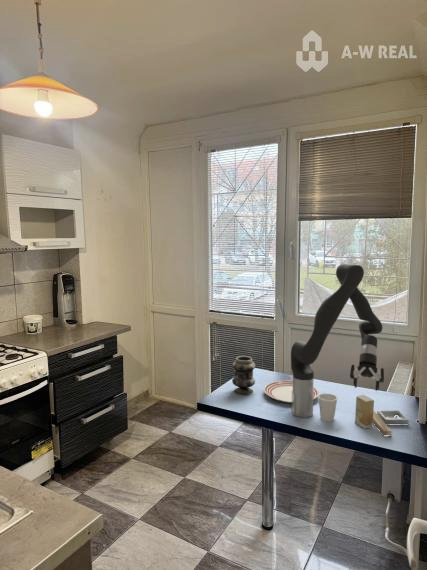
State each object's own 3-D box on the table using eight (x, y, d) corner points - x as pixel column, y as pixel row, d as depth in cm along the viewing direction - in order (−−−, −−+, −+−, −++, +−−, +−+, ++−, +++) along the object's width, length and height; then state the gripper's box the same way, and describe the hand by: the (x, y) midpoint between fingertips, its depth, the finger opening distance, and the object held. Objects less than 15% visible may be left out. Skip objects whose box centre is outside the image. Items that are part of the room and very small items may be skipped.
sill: (383, 436, 157) (383, 430, 157) (366, 415, 177) (366, 409, 177) (391, 436, 157) (391, 431, 157) (373, 415, 177) (373, 409, 177)
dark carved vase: (259, 393, 204) (259, 359, 202) (239, 397, 198) (239, 362, 196) (247, 385, 215) (247, 353, 213) (228, 389, 209) (228, 356, 207)
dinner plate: (324, 407, 187) (325, 400, 186) (267, 407, 187) (267, 400, 187) (311, 386, 214) (311, 380, 213) (261, 386, 214) (261, 380, 214)
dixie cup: (320, 422, 170) (321, 400, 169) (315, 414, 178) (315, 393, 177) (339, 422, 170) (340, 400, 169) (333, 414, 178) (334, 393, 177)
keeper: (385, 425, 167) (385, 419, 167) (377, 415, 177) (377, 410, 177) (408, 425, 167) (408, 420, 167) (398, 415, 177) (399, 410, 176)
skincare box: (354, 422, 170) (355, 395, 168) (362, 421, 171) (363, 394, 170) (365, 429, 164) (366, 401, 163) (373, 427, 165) (374, 399, 164)
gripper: (351, 350, 183) (348, 382, 174) (385, 354, 177) (383, 387, 168) (352, 358, 188) (349, 389, 179) (384, 362, 182) (383, 394, 173)
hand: (366, 388), depth 173 cm, fingers open, 8 cm apart
